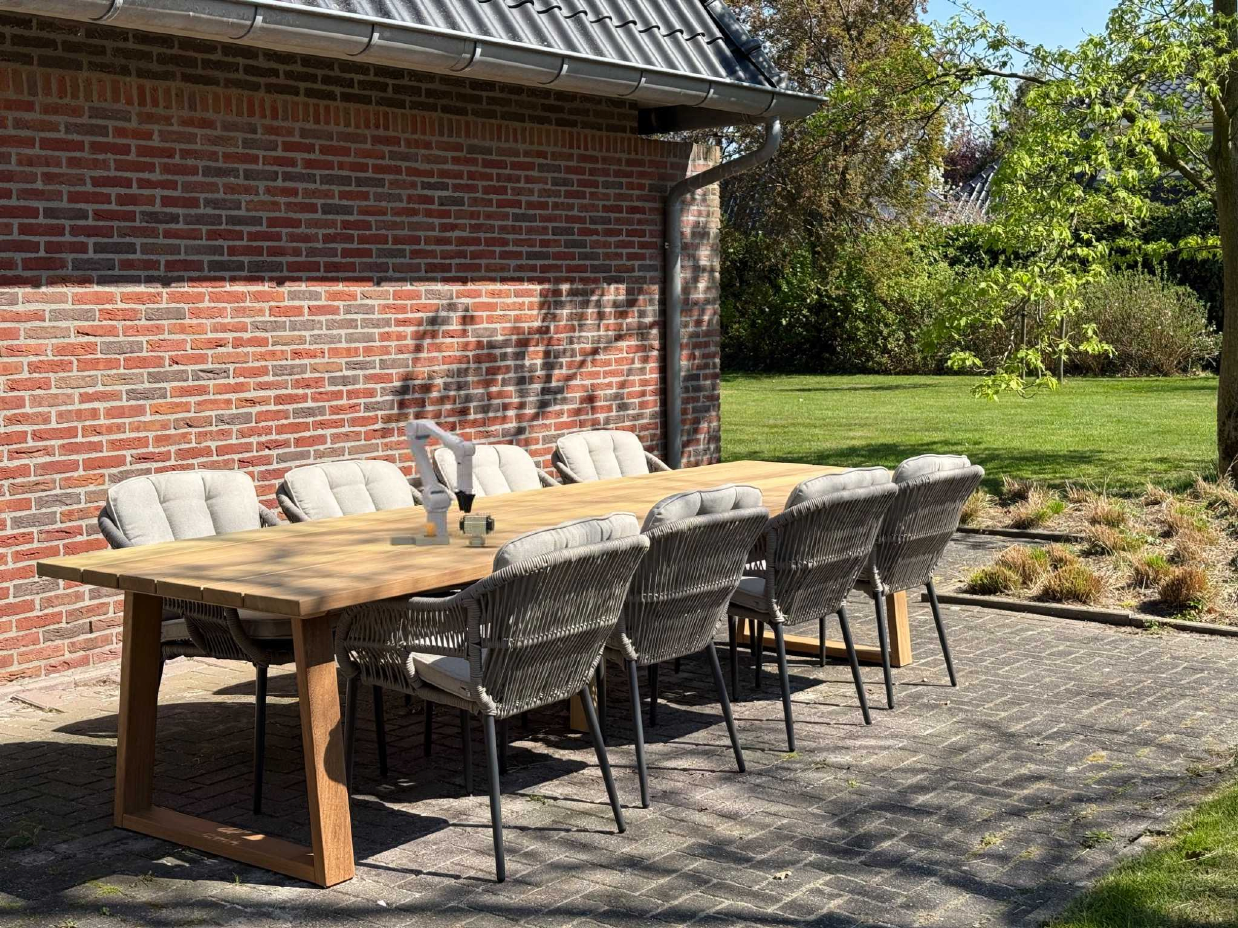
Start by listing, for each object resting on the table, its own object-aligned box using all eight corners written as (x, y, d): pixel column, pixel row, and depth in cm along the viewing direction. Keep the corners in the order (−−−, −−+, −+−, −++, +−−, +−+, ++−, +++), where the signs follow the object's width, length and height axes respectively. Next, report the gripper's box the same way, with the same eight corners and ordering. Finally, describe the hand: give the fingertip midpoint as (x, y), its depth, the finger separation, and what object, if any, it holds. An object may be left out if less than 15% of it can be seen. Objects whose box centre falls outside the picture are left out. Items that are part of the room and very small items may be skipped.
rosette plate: (388, 542, 534) (388, 535, 534) (443, 539, 540) (443, 532, 540) (393, 546, 523) (393, 539, 523) (449, 544, 529) (449, 537, 529)
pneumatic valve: (462, 545, 526) (462, 511, 525) (495, 545, 525) (494, 512, 523) (458, 547, 521) (458, 513, 520) (491, 548, 519) (491, 513, 518)
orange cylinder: (425, 542, 534) (425, 522, 533) (433, 541, 535) (433, 522, 534) (427, 543, 531) (427, 523, 530) (435, 543, 532) (435, 523, 532)
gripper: (449, 473, 546) (450, 509, 547) (458, 476, 532) (458, 514, 534) (468, 472, 548) (468, 509, 550) (477, 476, 535) (477, 513, 536)
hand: (465, 511), depth 542 cm, fingers open, 7 cm apart
